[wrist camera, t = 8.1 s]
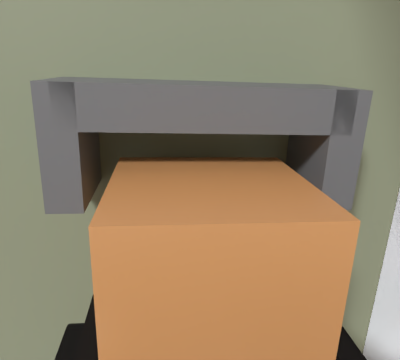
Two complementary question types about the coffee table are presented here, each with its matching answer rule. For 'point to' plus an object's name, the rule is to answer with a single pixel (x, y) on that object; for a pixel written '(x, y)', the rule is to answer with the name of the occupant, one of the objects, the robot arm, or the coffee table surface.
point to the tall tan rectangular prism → (218, 261)
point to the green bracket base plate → (183, 126)
